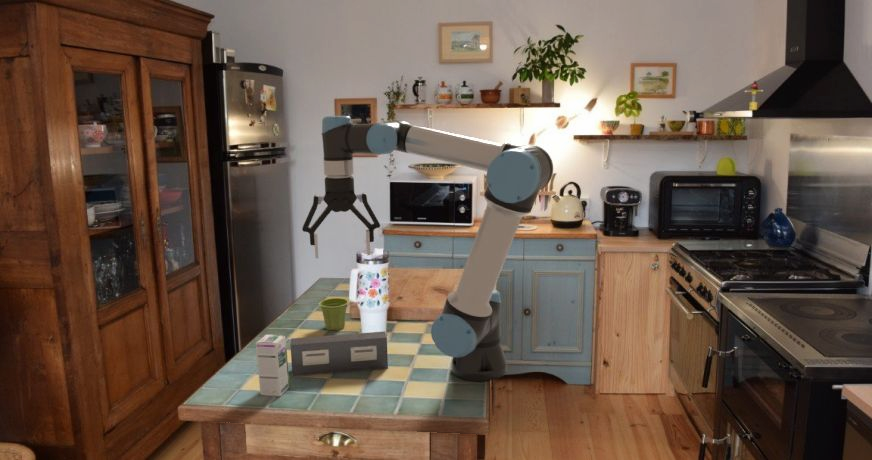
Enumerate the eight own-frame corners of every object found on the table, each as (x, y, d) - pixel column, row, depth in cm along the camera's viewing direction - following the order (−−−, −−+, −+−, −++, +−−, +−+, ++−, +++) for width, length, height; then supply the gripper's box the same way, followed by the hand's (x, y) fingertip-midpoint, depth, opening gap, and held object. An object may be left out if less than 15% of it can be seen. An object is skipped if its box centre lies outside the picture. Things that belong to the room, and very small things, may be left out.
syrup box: (281, 397, 172) (277, 342, 170) (259, 395, 174) (255, 341, 171) (290, 387, 178) (286, 334, 175) (268, 386, 179) (265, 333, 176)
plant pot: (335, 334, 216) (333, 308, 215) (314, 328, 222) (313, 303, 220) (355, 326, 224) (354, 301, 222) (335, 321, 229) (333, 296, 227)
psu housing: (386, 361, 194) (385, 331, 192) (388, 369, 188) (387, 338, 187) (293, 369, 190) (291, 338, 188) (292, 377, 184) (290, 345, 183)
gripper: (385, 172, 182) (388, 249, 187) (290, 176, 179) (295, 254, 183) (388, 175, 175) (391, 256, 179) (289, 179, 171) (294, 261, 175)
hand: (342, 255), depth 181 cm, fingers open, 13 cm apart
